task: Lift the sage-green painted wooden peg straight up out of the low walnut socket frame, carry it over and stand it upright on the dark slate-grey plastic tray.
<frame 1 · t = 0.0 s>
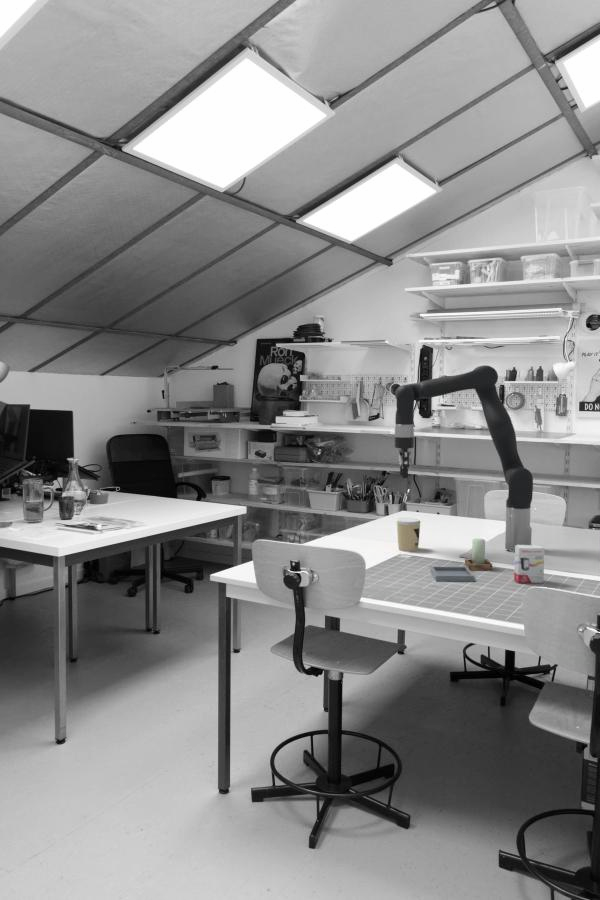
hand: (403, 476, 280), 29 cm above the table, fingers open, 8 cm apart
ink box: (528, 581, 235), on the table
socket: (478, 567, 254), on the table
coffee cup: (408, 550, 283), on the table
peg: (478, 553, 253), in the socket
tray: (451, 576, 242), on the table
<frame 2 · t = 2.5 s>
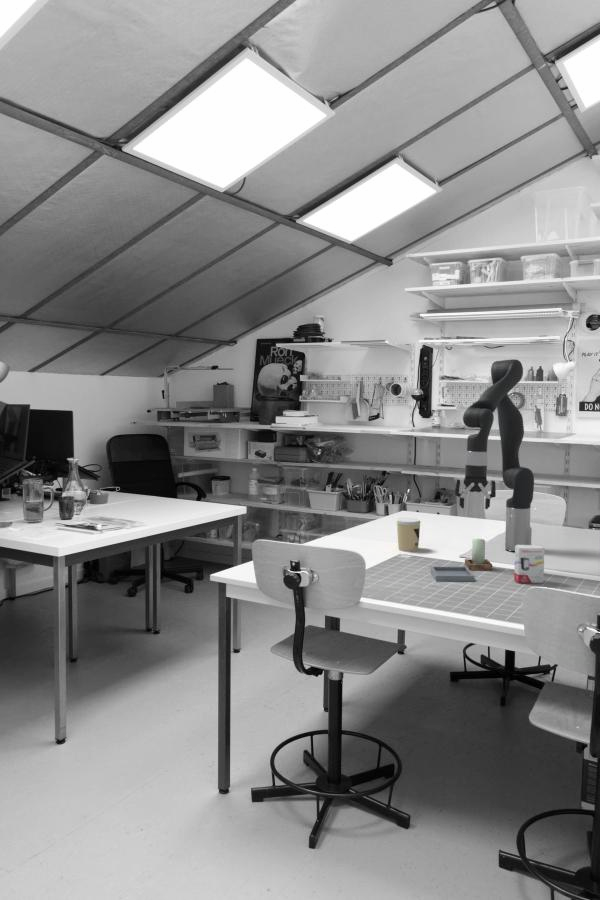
hand: (474, 508, 256), 21 cm above the table, fingers open, 8 cm apart
nothing on the table moved.
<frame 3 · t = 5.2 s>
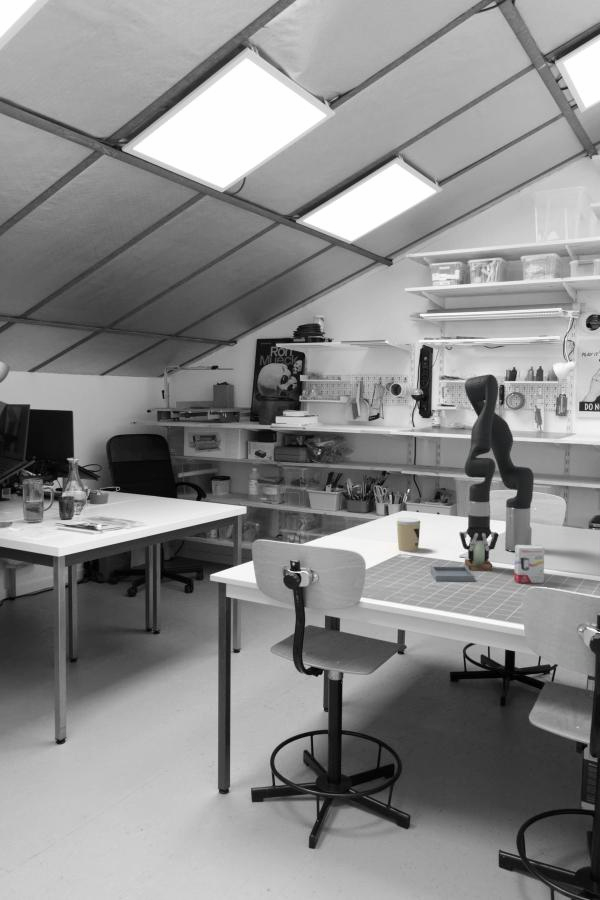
hand: (478, 560, 254), 3 cm above the table, fingers closed on peg, 4 cm apart
peg: (478, 553, 253), in the socket, touching gripper
everything else where it was.
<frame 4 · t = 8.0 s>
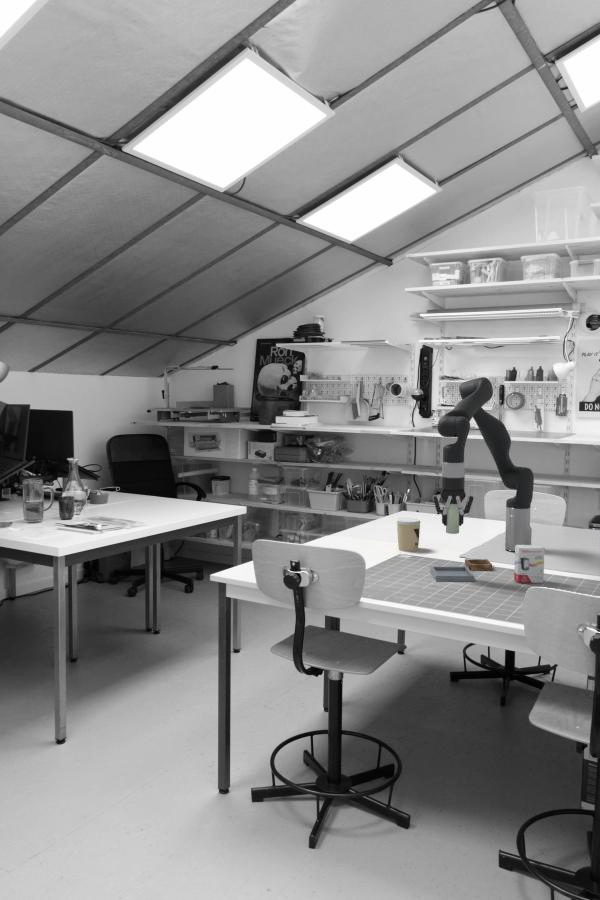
hand: (452, 525, 240), 18 cm above the table, fingers closed on peg, 4 cm apart
peg: (452, 517, 240), point 20 cm above the table, touching gripper
everything else where it was.
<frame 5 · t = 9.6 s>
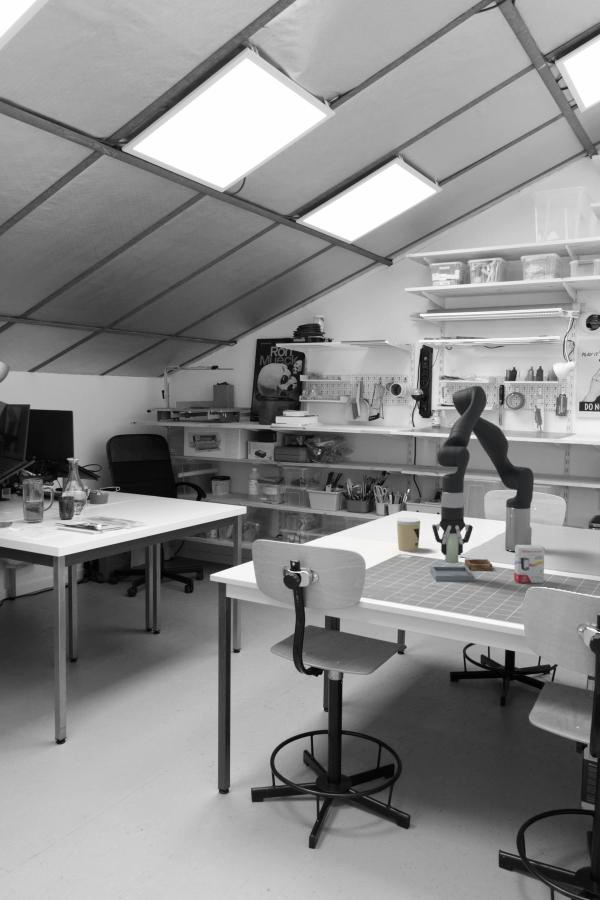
hand: (451, 554, 241), 8 cm above the table, fingers closed on peg, 4 cm apart
peg: (452, 547, 241), point 10 cm above the table, touching gripper
everything else where it was.
when the fingers open (4 cm above the table, at t = 10.8 s): peg stays where it is, resting on tray.
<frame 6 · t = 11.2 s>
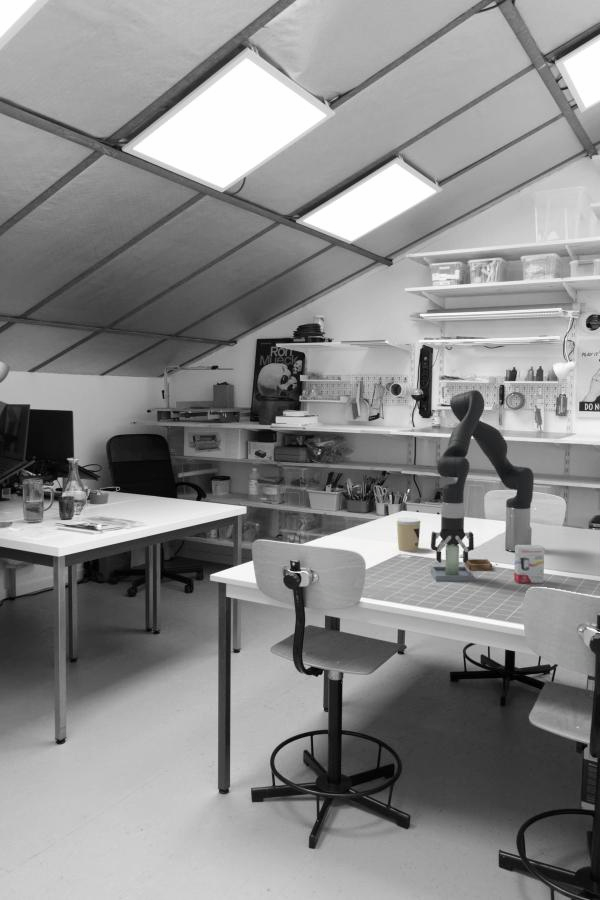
hand: (451, 562, 242), 5 cm above the table, fingers open, 8 cm apart
peg: (452, 560, 241), in the tray, point 6 cm above the table
everything else where it was.
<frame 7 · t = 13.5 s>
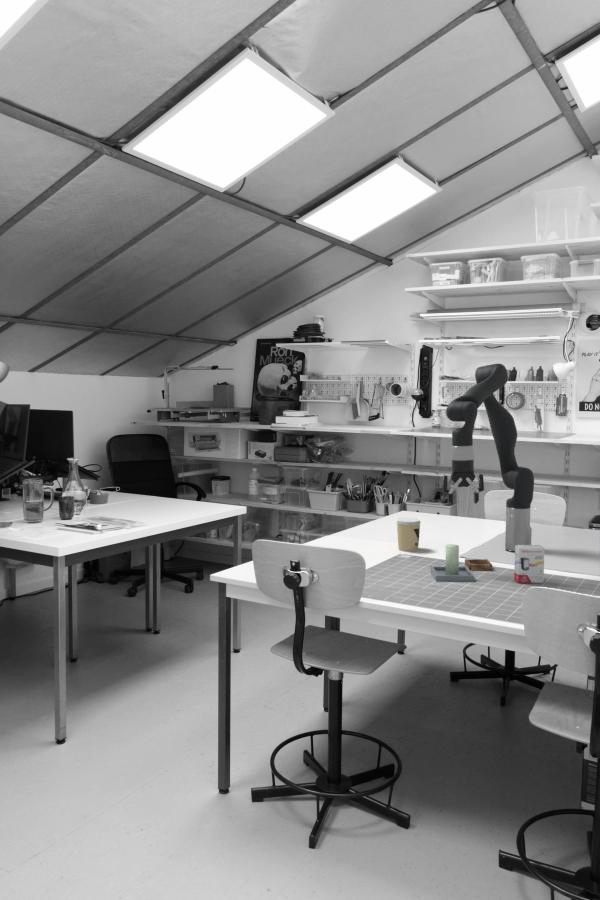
hand: (463, 503, 251), 23 cm above the table, fingers open, 8 cm apart
nothing on the table moved.
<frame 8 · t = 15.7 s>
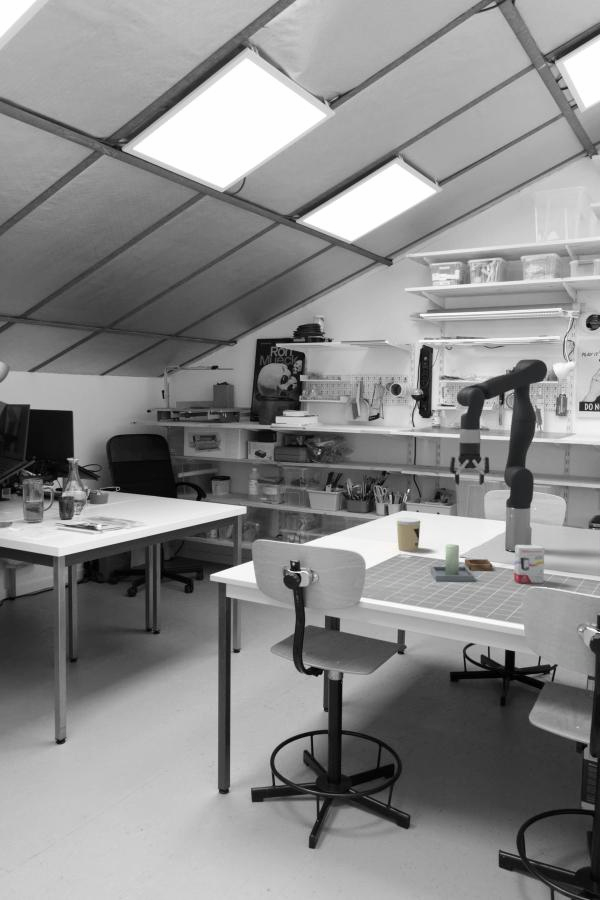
hand: (469, 484, 265), 28 cm above the table, fingers open, 8 cm apart
nothing on the table moved.
at the end: peg inside the target area on the tray (0.0 cm from its centre), point 5.6 cm above the tray's base; peg tilted 0°; the gripper is holding nothing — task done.
